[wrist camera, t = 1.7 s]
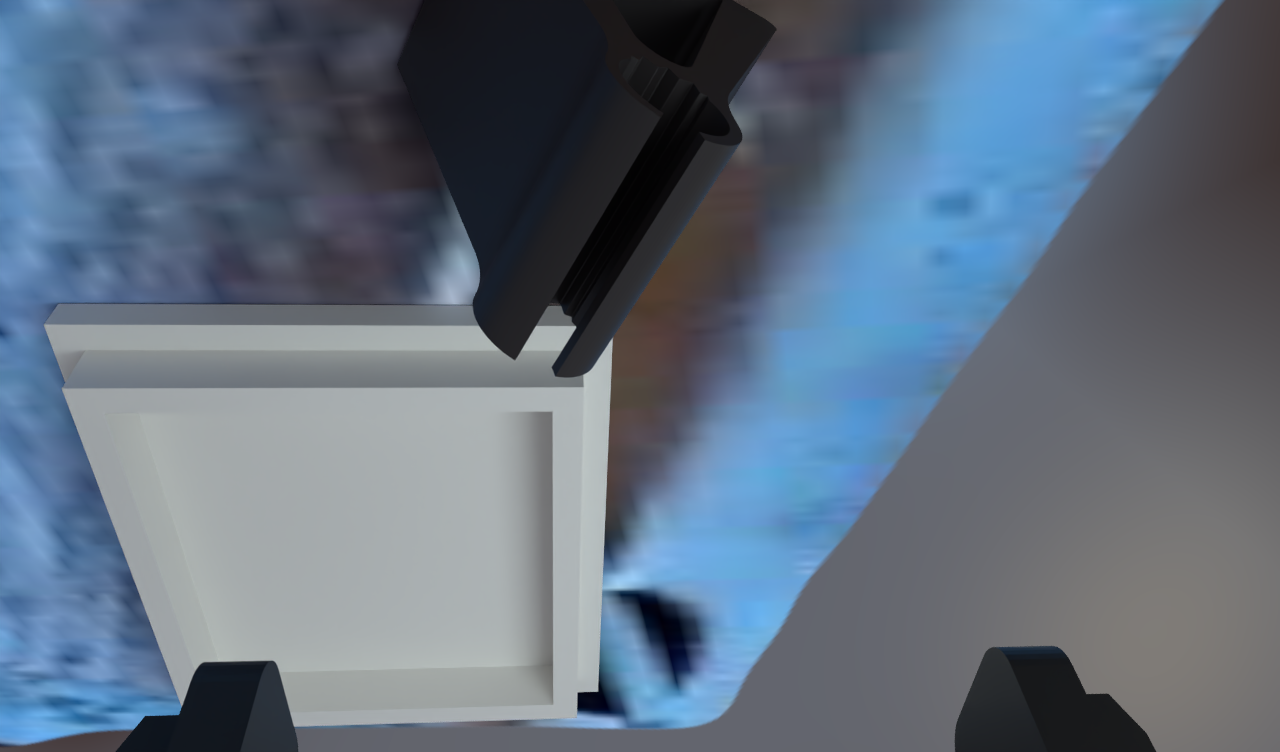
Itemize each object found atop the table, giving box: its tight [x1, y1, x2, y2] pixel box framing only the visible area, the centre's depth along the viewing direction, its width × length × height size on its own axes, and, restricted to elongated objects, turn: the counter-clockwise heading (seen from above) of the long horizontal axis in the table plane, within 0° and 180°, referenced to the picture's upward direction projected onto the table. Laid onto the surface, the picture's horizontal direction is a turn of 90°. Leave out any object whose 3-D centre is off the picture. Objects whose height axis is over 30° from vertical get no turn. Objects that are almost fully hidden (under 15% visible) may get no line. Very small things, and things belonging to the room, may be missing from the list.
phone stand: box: [398, 0, 776, 378], centre depth 24 cm, size 9×6×12 cm, turn 60°
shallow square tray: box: [44, 304, 613, 727], centre depth 38 cm, size 18×20×3 cm
